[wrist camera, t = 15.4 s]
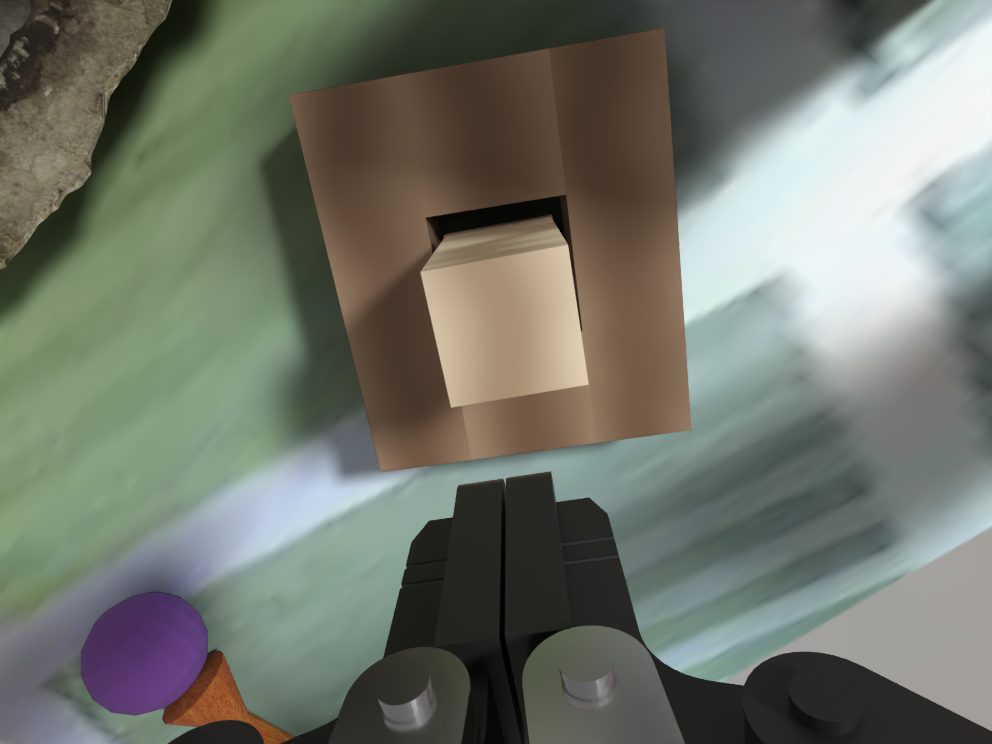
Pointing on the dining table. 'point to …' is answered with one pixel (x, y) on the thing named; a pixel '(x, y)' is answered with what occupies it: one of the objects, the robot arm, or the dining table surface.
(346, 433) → the dining table surface
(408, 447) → the seat board
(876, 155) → the dining table surface
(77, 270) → the dining table surface
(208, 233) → the dining table surface
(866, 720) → the robot arm
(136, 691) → the kendama
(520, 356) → the beech leg
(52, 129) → the hollow geode rock
